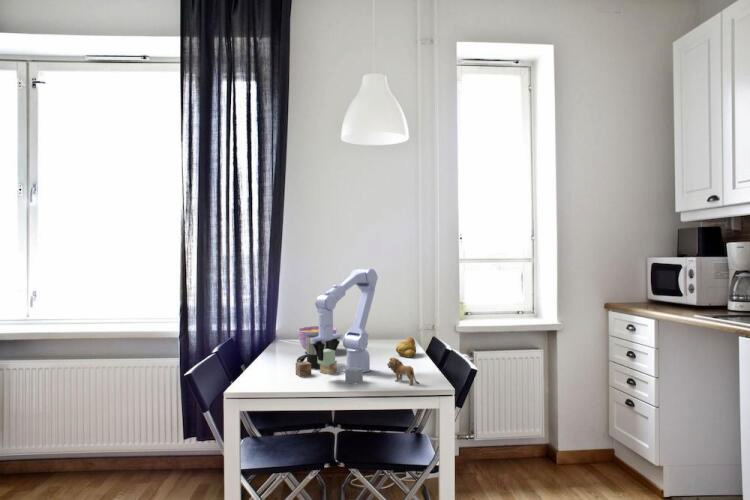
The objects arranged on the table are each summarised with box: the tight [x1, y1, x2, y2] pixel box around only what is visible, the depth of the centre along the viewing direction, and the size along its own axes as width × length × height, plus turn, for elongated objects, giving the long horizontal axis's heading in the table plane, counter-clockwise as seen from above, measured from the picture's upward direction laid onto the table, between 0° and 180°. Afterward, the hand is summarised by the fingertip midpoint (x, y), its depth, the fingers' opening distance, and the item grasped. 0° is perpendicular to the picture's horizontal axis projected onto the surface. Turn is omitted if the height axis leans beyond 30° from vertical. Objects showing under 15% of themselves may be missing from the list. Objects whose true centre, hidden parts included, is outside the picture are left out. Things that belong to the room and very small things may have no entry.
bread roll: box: [395, 337, 417, 358], centre depth 253 cm, size 13×10×8 cm
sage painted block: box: [317, 349, 336, 365], centre depth 208 cm, size 5×5×5 cm
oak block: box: [319, 359, 338, 375], centre depth 220 cm, size 5×5×5 cm
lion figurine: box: [386, 357, 420, 386], centre depth 203 cm, size 15×5×9 cm, turn 50°
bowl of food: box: [297, 325, 338, 351], centre depth 264 cm, size 20×20×12 cm
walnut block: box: [295, 360, 312, 378], centre depth 216 cm, size 5×5×5 cm
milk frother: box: [296, 332, 329, 370], centre depth 234 cm, size 14×16×15 cm
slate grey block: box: [344, 367, 364, 384], centre depth 204 cm, size 5×5×5 cm
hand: (326, 359), depth 208 cm, fingers closed on sage painted block, 5 cm apart
